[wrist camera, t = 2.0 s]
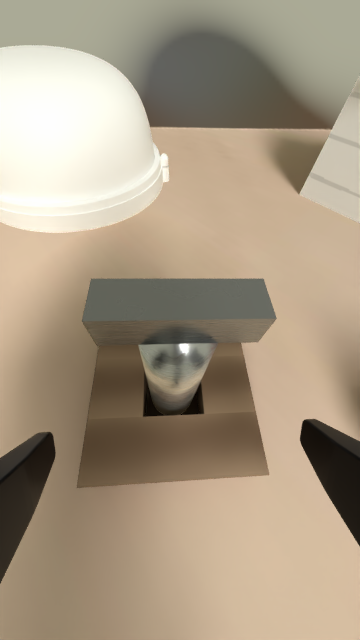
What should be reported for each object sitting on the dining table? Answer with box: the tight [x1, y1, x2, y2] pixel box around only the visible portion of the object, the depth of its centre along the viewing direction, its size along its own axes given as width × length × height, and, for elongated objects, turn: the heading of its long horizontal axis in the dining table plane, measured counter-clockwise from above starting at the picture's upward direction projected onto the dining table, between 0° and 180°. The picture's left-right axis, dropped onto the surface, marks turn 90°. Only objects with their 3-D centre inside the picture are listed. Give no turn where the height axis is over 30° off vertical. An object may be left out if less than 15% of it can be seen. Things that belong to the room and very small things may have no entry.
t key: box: [82, 279, 277, 416], centre depth 14 cm, size 4×6×14 cm, turn 93°
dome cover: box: [0, 45, 169, 233], centre depth 32 cm, size 32×30×14 cm
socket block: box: [77, 343, 269, 488], centre depth 18 cm, size 12×12×3 cm
